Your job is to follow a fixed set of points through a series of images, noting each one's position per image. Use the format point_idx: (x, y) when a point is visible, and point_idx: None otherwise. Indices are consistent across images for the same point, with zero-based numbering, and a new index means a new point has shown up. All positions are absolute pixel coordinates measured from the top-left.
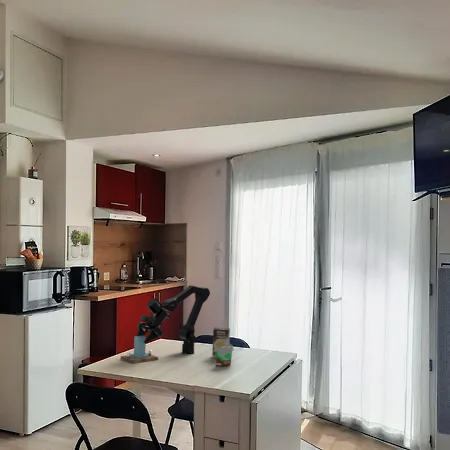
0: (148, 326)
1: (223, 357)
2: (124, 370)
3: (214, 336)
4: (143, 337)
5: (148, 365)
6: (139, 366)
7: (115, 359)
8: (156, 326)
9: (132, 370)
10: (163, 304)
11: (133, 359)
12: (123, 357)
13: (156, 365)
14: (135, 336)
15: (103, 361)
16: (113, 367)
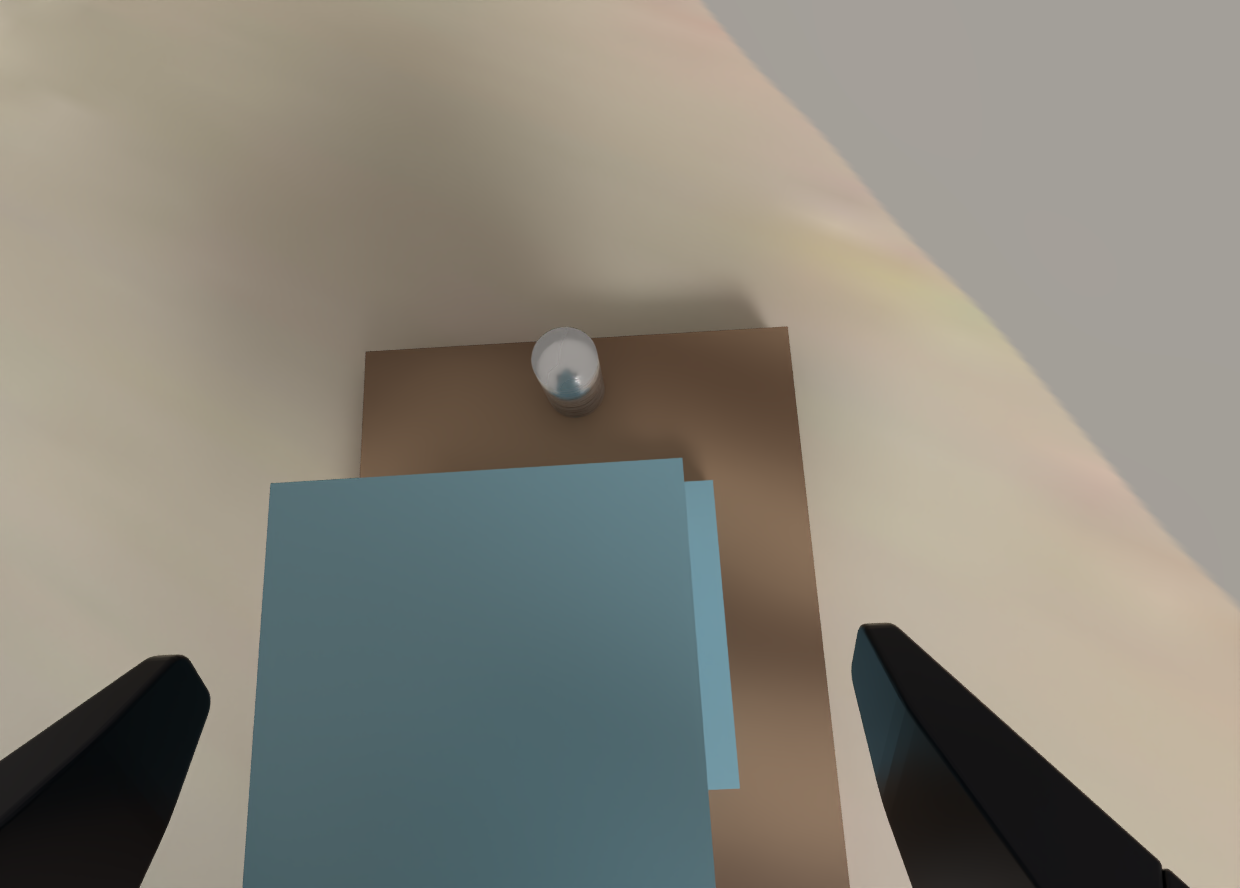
0: None
1: None
2: (94, 116)
3: None
4: (251, 775)
5: (110, 548)
6: (148, 388)
7: (788, 267)
8: None
9: (22, 201)
10: None
11: (418, 411)
12: (673, 335)
13: (21, 673)
14: (672, 507)
15: (738, 70)
16: (326, 59)
